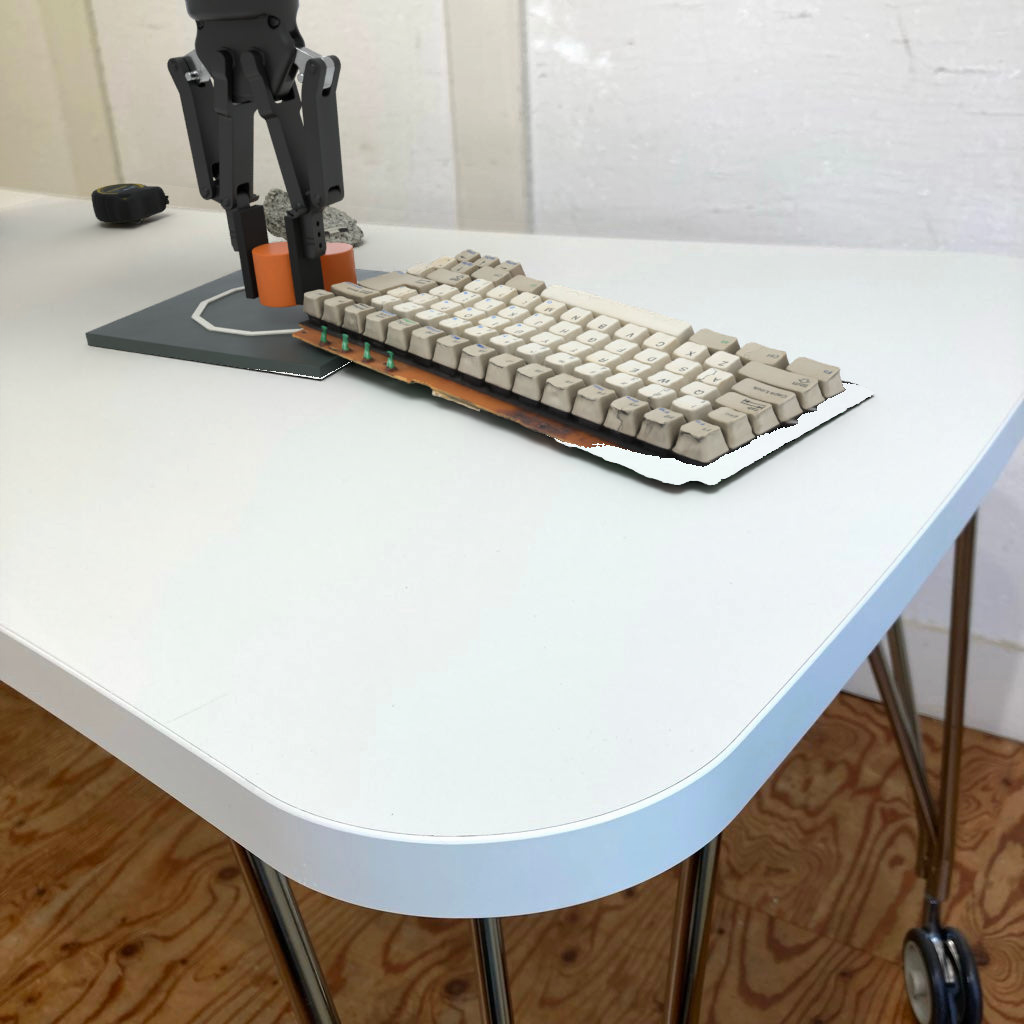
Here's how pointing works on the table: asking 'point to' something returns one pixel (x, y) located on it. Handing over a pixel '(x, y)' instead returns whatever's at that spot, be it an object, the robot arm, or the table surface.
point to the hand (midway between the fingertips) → (285, 295)
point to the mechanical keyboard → (565, 359)
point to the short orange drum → (338, 265)
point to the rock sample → (334, 220)
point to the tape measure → (128, 202)
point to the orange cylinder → (274, 275)
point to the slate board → (222, 330)
